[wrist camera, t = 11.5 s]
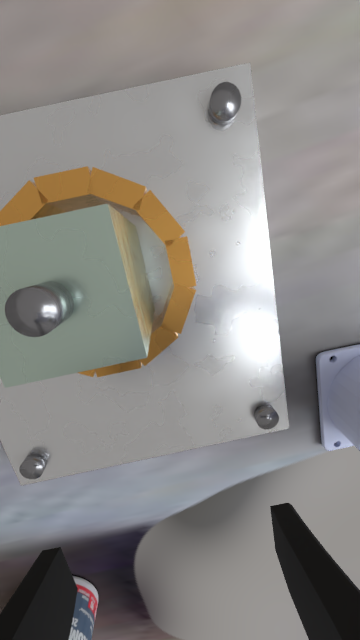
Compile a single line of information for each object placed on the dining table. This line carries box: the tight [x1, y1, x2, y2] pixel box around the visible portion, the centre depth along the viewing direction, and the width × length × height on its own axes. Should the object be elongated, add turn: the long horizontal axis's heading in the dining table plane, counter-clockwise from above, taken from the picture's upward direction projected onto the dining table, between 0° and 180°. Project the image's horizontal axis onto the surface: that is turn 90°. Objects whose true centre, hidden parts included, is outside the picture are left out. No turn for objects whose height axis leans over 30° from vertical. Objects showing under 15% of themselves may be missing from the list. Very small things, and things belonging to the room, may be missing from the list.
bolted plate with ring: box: [0, 63, 289, 486], centre depth 14 cm, size 18×20×4 cm
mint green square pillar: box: [0, 204, 155, 388], centre depth 10 cm, size 4×4×8 cm
